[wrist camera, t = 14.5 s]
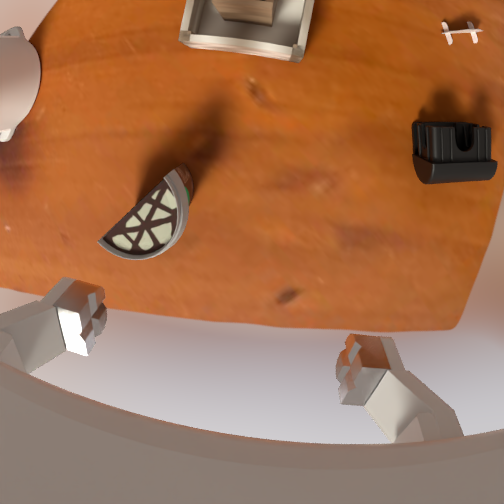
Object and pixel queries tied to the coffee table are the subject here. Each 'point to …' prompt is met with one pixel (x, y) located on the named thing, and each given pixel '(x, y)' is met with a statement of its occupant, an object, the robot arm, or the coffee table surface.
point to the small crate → (247, 11)
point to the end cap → (452, 152)
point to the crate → (249, 30)
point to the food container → (153, 219)
